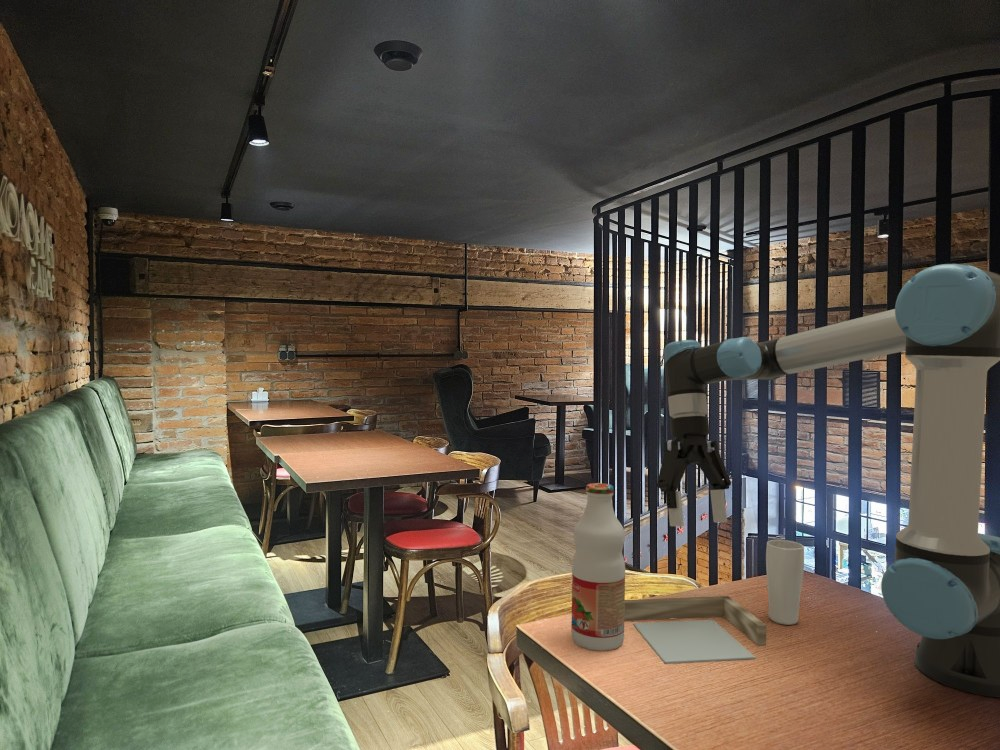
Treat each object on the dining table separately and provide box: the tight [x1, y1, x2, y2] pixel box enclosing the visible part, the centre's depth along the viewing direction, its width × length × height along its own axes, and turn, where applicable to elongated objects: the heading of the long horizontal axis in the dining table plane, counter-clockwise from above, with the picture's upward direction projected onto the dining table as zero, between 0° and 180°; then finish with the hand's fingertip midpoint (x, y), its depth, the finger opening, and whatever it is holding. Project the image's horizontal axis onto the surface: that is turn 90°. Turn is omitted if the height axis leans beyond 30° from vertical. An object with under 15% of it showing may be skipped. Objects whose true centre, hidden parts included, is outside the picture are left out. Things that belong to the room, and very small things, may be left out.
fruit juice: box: [570, 482, 626, 652], centre depth 117 cm, size 9×9×28 cm
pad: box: [632, 619, 756, 665], centre depth 118 cm, size 16×16×1 cm
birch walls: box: [624, 595, 768, 646], centre depth 122 cm, size 14×24×4 cm, turn 97°
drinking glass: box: [765, 539, 805, 626], centre depth 128 cm, size 7×7×15 cm
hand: (699, 524), depth 129 cm, fingers open, 13 cm apart
